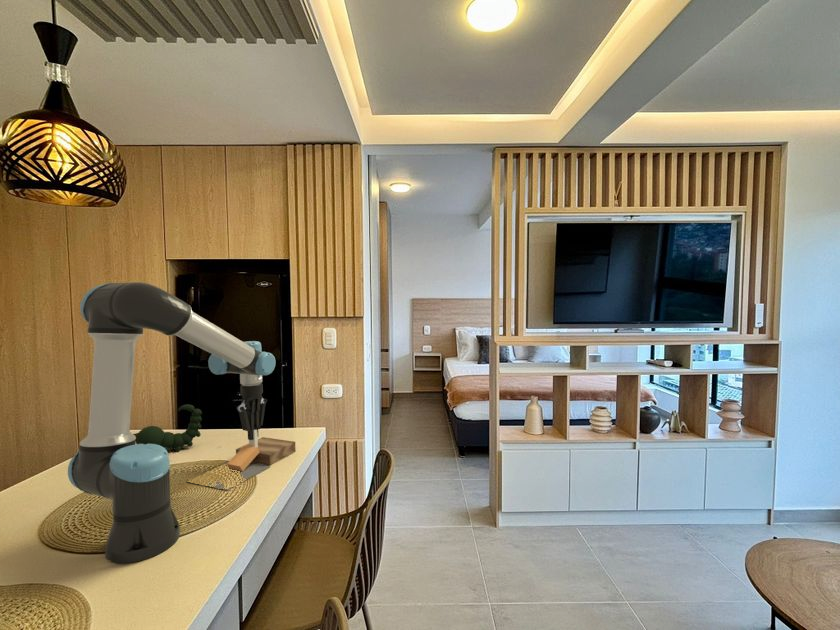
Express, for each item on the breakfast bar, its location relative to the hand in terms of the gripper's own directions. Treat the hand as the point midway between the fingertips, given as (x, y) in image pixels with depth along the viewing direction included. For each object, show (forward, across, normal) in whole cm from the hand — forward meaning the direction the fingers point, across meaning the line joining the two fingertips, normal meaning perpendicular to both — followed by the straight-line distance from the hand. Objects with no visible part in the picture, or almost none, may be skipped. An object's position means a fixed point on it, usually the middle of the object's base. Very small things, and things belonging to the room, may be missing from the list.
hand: (253, 447), depth 149 cm
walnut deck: (+6, +6, 0) cm, 8 cm away
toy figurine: (+6, -4, +41) cm, 42 cm away
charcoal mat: (+6, -11, 0) cm, 12 cm away
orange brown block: (+3, -4, 0) cm, 5 cm away
